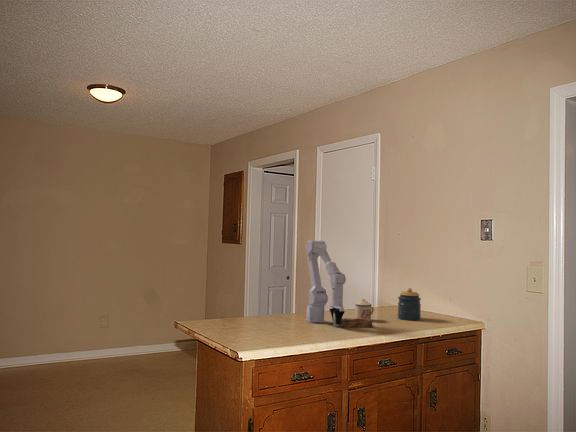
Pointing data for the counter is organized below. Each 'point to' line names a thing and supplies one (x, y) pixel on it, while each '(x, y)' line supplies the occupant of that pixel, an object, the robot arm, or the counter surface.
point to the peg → (335, 322)
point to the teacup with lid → (363, 310)
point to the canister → (409, 305)
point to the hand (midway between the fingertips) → (336, 323)
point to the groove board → (355, 322)
